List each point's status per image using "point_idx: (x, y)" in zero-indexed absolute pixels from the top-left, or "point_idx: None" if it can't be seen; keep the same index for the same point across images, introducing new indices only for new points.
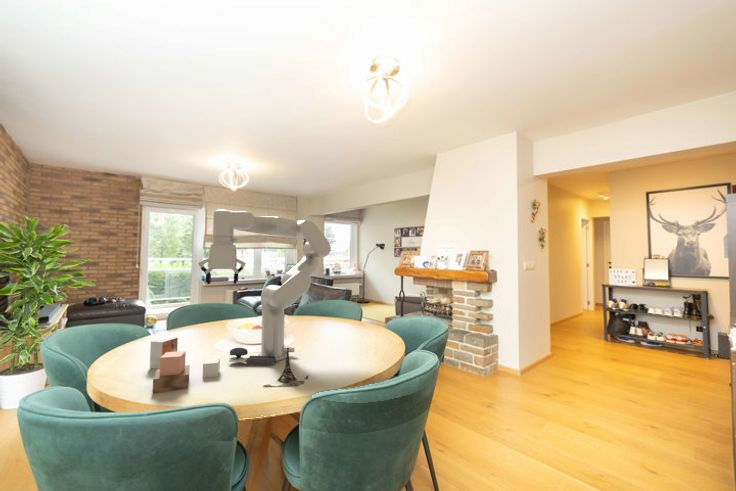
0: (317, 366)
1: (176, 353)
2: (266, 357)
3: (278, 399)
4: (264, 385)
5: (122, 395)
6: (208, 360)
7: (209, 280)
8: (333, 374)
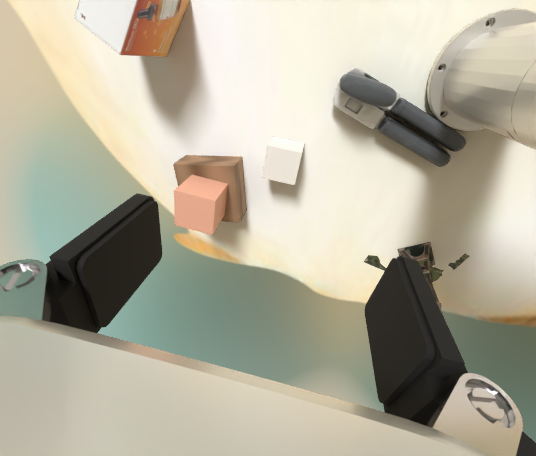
0: (533, 218)
1: (199, 210)
2: (438, 139)
3: None
4: (369, 256)
5: (153, 191)
6: (274, 155)
7: (145, 274)
8: (518, 273)
